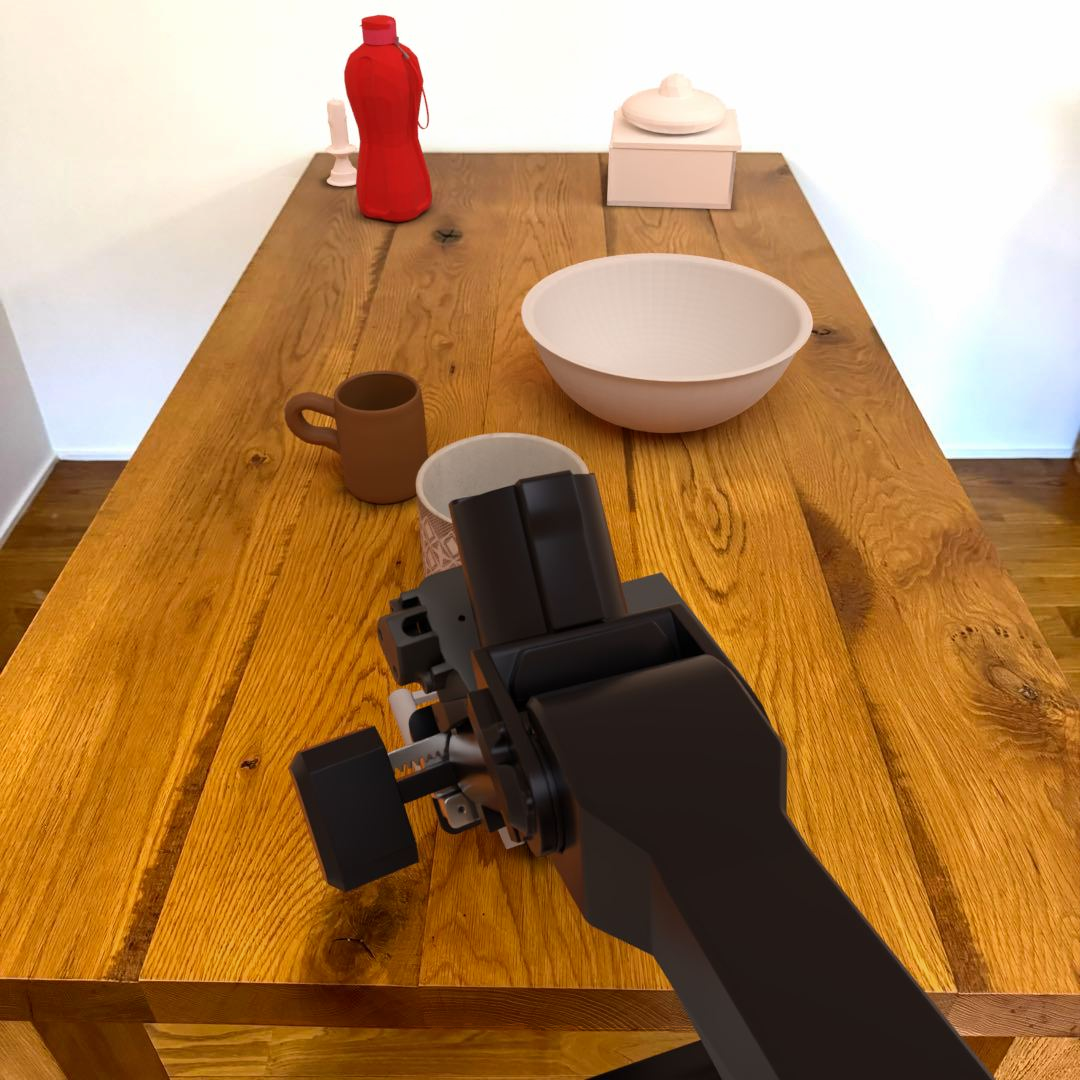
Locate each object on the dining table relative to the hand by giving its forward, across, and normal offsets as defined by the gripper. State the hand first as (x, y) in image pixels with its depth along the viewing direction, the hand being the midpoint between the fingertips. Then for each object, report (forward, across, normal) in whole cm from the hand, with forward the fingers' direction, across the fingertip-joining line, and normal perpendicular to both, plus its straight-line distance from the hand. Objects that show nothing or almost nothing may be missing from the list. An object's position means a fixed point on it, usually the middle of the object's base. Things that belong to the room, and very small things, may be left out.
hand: (461, 745), depth 56 cm
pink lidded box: (+74, -73, -58) cm, 119 cm away
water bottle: (+80, -34, -64) cm, 108 cm away
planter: (+23, -13, -8) cm, 27 cm away
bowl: (+36, -38, -21) cm, 57 cm away
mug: (+36, -7, -21) cm, 43 cm away
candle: (+92, -31, -76) cm, 123 cm away
